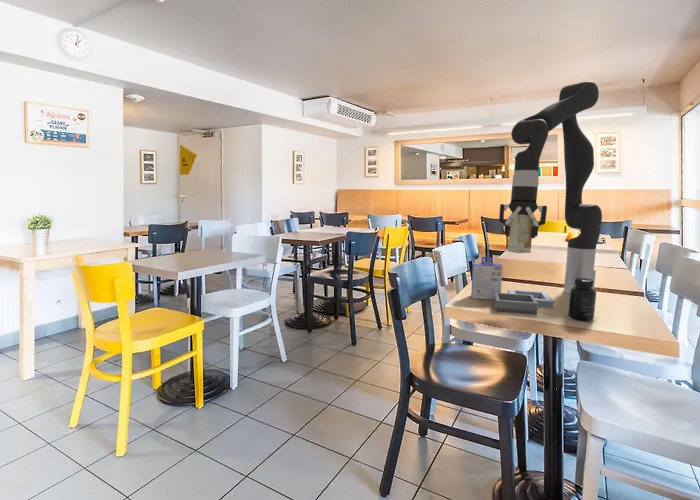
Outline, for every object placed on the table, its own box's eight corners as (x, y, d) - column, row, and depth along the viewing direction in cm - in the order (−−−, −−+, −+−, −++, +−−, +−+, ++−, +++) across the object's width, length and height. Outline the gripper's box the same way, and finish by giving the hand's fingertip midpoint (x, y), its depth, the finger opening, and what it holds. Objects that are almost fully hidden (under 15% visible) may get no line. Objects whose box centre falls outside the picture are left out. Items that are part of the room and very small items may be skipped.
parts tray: (531, 305, 137) (532, 295, 136) (537, 314, 126) (538, 303, 126) (493, 302, 140) (494, 292, 140) (495, 311, 130) (496, 300, 129)
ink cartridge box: (498, 296, 148) (501, 257, 146) (501, 300, 142) (503, 259, 140) (470, 295, 150) (472, 255, 148) (471, 298, 144) (473, 258, 142)
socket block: (546, 297, 148) (546, 291, 148) (553, 307, 134) (554, 301, 134) (507, 294, 151) (507, 289, 151) (511, 304, 138) (511, 298, 138)
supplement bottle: (562, 315, 126) (566, 276, 124) (584, 314, 127) (587, 276, 125) (577, 322, 119) (580, 281, 118) (599, 321, 120) (603, 281, 118)
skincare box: (517, 253, 129) (520, 214, 128) (506, 251, 133) (509, 213, 131) (531, 253, 132) (535, 214, 130) (520, 251, 136) (523, 214, 134)
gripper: (547, 186, 131) (542, 237, 133) (500, 185, 135) (496, 235, 137) (551, 185, 124) (546, 239, 126) (501, 184, 128) (497, 236, 130)
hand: (520, 237), depth 132 cm, fingers closed on skincare box, 7 cm apart
